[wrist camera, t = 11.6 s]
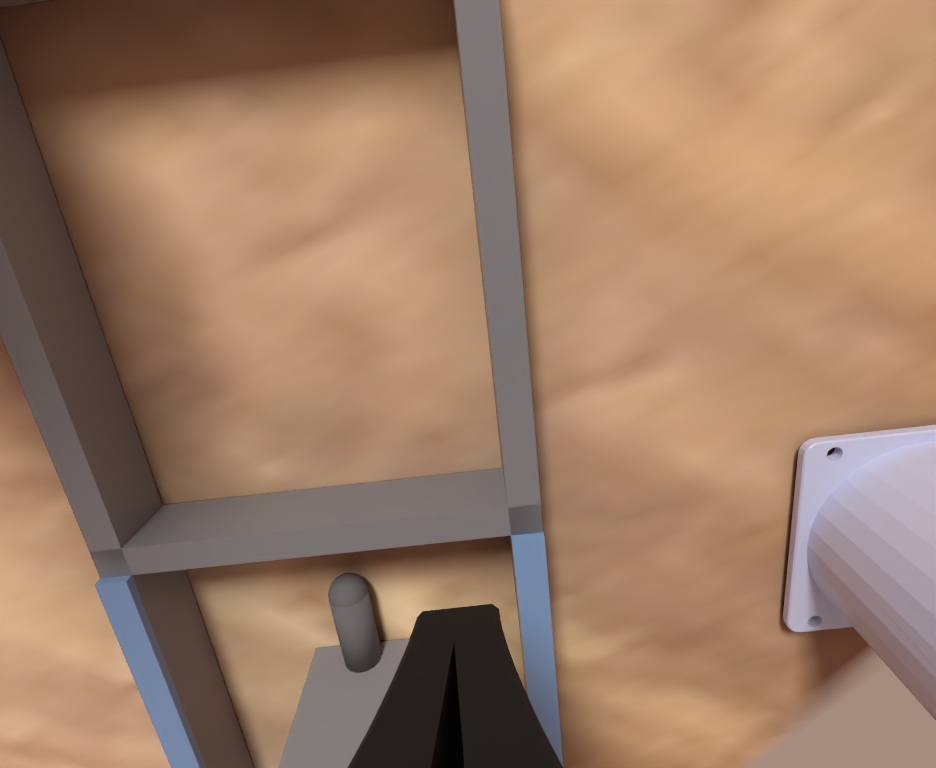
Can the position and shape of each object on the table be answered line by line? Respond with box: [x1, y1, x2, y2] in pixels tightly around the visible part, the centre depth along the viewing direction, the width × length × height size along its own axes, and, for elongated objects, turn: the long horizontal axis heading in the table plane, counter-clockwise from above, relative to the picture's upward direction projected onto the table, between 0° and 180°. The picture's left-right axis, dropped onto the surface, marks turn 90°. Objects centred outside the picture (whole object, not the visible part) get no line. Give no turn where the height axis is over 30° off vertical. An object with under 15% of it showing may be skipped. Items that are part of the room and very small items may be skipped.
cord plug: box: [279, 573, 409, 768], centre depth 20 cm, size 4×11×5 cm, turn 7°
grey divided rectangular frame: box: [0, 0, 564, 768], centre depth 17 cm, size 14×34×5 cm, turn 7°
